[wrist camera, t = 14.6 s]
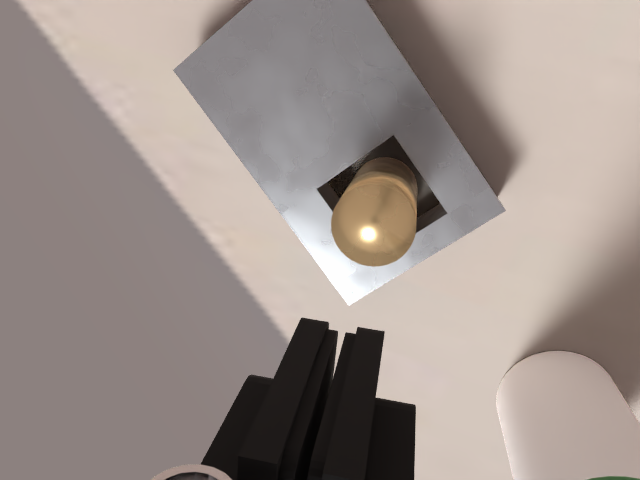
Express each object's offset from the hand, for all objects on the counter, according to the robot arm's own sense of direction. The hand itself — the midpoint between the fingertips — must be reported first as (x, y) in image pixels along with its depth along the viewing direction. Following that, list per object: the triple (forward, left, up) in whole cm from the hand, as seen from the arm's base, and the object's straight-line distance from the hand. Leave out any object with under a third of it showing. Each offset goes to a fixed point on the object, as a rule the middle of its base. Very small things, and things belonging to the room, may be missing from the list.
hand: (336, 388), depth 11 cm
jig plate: (-2, -3, -22) cm, 22 cm away
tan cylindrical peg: (+1, 0, -22) cm, 22 cm away
